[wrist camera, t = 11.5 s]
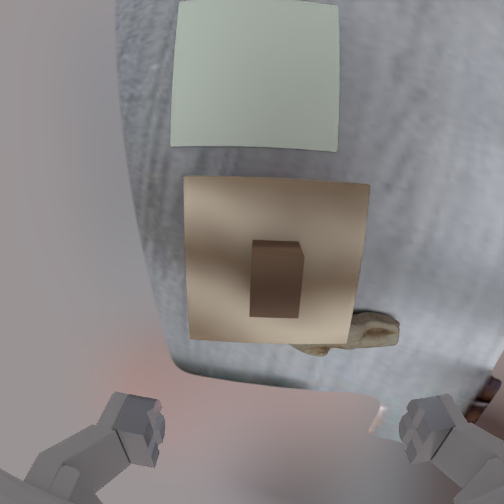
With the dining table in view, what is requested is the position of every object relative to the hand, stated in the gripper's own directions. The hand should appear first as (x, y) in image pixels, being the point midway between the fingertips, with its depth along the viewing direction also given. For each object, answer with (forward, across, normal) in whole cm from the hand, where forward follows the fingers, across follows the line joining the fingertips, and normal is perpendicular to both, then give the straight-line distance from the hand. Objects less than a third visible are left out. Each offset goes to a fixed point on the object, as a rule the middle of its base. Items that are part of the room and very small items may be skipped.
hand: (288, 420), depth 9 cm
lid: (+14, 0, 0) cm, 14 cm away
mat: (+28, +2, -17) cm, 33 cm away
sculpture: (+28, -10, +13) cm, 33 cm away
